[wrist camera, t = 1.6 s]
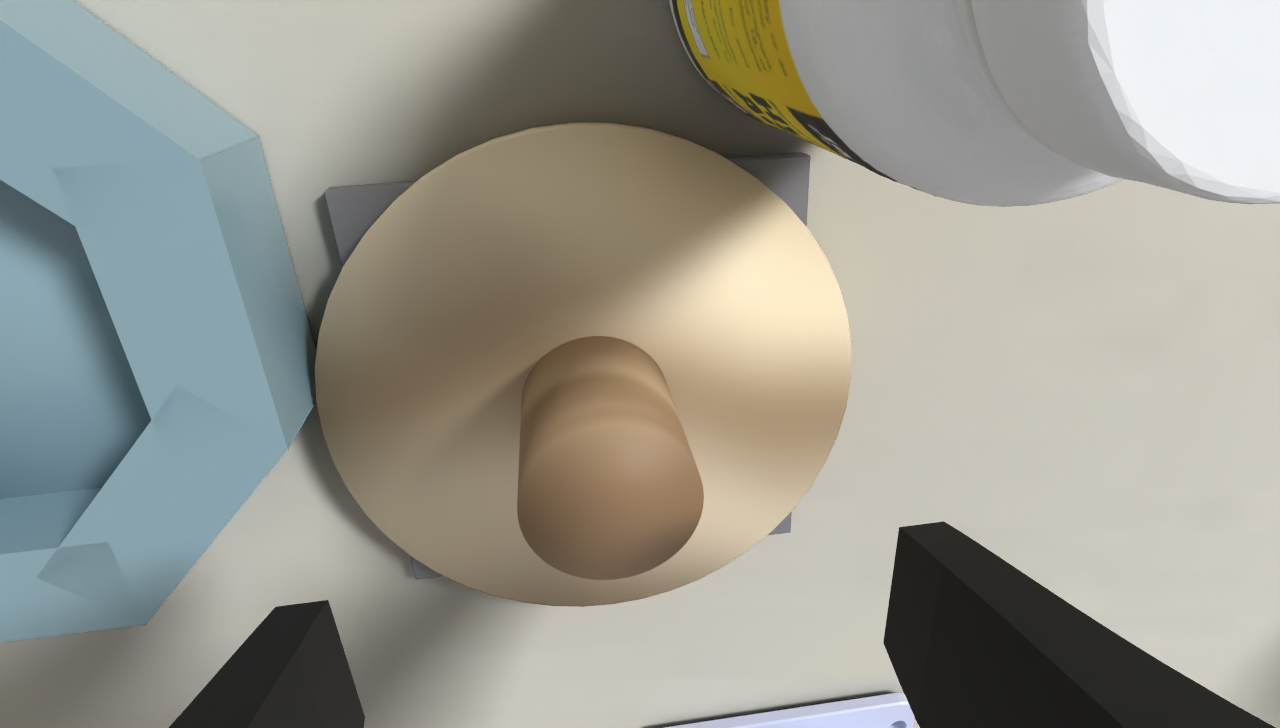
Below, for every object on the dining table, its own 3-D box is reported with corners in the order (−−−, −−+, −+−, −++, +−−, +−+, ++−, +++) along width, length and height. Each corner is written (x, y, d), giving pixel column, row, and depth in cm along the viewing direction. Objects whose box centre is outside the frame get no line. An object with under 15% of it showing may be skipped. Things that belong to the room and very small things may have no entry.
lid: (823, 556, 18) (897, 695, 14) (384, 612, 17) (341, 778, 13) (859, 103, 13) (983, 134, 10) (258, 143, 12) (138, 194, 9)
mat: (784, 522, 18) (790, 532, 18) (418, 567, 17) (415, 579, 17) (803, 153, 14) (810, 155, 14) (330, 187, 13) (324, 192, 13)
